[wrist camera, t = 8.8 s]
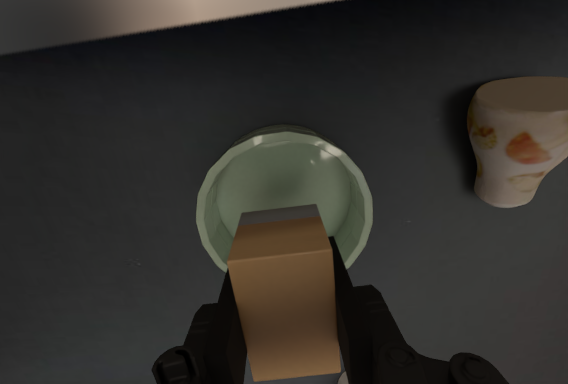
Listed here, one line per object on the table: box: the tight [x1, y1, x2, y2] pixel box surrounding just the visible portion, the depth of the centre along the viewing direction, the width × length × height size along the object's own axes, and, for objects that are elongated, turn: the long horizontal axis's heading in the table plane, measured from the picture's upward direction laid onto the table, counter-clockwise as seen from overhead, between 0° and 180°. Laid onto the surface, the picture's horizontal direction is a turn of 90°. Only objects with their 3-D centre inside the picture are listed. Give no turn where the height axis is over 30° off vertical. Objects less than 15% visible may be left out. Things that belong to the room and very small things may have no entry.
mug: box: [467, 76, 568, 208], centre depth 20 cm, size 8×10×10 cm
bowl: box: [196, 124, 373, 273], centre depth 22 cm, size 13×13×5 cm
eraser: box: [227, 204, 341, 382], centre depth 13 cm, size 6×4×4 cm, turn 7°
